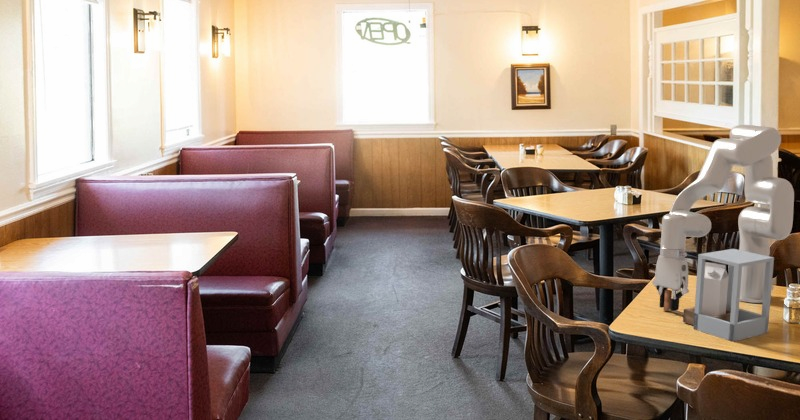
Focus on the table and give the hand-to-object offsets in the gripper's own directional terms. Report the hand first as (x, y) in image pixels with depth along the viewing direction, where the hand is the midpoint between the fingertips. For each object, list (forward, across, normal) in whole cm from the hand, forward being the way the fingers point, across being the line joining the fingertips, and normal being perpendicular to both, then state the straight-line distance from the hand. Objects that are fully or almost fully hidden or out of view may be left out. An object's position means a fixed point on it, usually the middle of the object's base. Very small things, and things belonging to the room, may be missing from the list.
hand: (668, 307), depth 273 cm
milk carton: (+1, -16, 0) cm, 16 cm away
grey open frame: (+1, -23, 0) cm, 23 cm away
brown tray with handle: (+1, -10, 0) cm, 10 cm away
